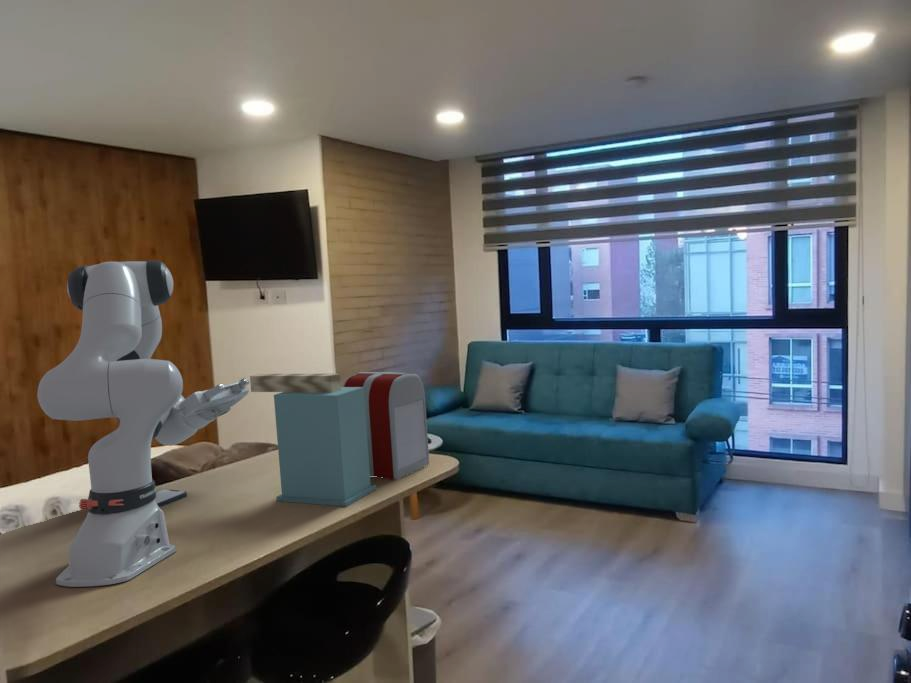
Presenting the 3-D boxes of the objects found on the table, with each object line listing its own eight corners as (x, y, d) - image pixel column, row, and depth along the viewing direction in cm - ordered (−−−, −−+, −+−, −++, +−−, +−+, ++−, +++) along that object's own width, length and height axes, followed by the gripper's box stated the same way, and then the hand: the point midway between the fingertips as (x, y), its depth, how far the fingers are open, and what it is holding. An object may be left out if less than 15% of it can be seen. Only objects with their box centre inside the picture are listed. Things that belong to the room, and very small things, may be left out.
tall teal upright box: (376, 489, 178) (369, 386, 175) (346, 506, 165) (338, 396, 162) (309, 484, 185) (301, 386, 183) (276, 500, 173) (267, 395, 170)
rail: (341, 389, 173) (339, 373, 172) (332, 392, 169) (330, 375, 169) (261, 389, 182) (260, 373, 182) (251, 391, 179) (249, 376, 178)
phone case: (137, 518, 167) (189, 497, 182) (136, 512, 167) (189, 491, 181) (112, 515, 171) (165, 494, 186) (111, 508, 171) (164, 488, 185)
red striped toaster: (396, 480, 185) (389, 377, 182) (344, 474, 194) (337, 376, 192) (431, 464, 199) (425, 369, 196) (381, 459, 208) (374, 368, 206)
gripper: (165, 406, 179) (200, 379, 174) (221, 391, 198) (253, 367, 193) (177, 427, 179) (212, 401, 173) (232, 410, 197) (265, 387, 192)
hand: (234, 383), depth 183 cm, fingers open, 8 cm apart
